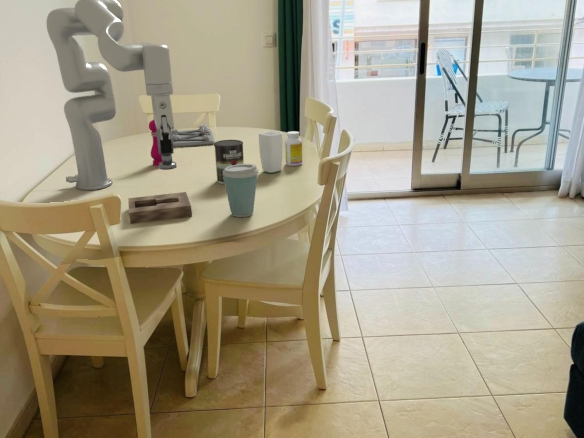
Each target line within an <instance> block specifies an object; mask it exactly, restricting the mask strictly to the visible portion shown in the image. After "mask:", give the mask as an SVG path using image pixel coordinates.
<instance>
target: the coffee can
mask: <svg viewBox="0 0 584 438" xmlns="http://www.w3.org/2000/svg"><path fill="white" fill-rule="evenodd" d="M213 146H214V154H215V155H214V157H215V169H216V182H217V183H218V184H221V185H225V182H224V177H223V175H222V174H223V171H224V169H225V168H226V167H229V166H233V165H239V164H245V163H244V142H243V141H242V140H239V139H223V140H218V141H215V143H214V145H213Z"/></svg>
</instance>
